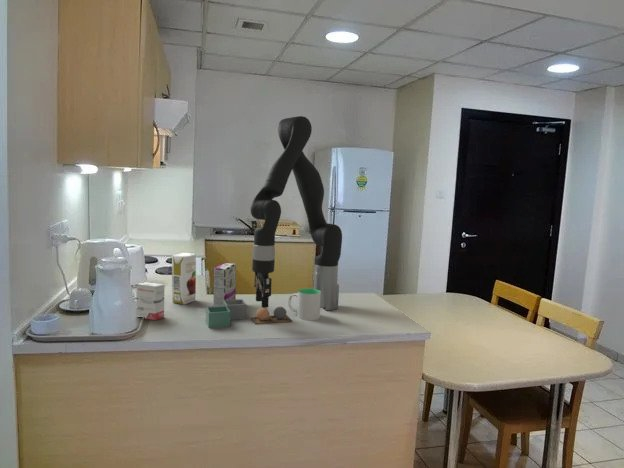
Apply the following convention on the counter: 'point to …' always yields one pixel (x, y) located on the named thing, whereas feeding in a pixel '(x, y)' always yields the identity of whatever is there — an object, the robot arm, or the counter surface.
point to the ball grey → (279, 313)
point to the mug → (307, 304)
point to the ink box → (150, 300)
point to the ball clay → (262, 314)
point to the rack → (270, 320)
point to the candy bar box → (224, 283)
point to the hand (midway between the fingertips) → (261, 304)
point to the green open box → (217, 316)
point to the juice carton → (183, 278)
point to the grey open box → (236, 308)
